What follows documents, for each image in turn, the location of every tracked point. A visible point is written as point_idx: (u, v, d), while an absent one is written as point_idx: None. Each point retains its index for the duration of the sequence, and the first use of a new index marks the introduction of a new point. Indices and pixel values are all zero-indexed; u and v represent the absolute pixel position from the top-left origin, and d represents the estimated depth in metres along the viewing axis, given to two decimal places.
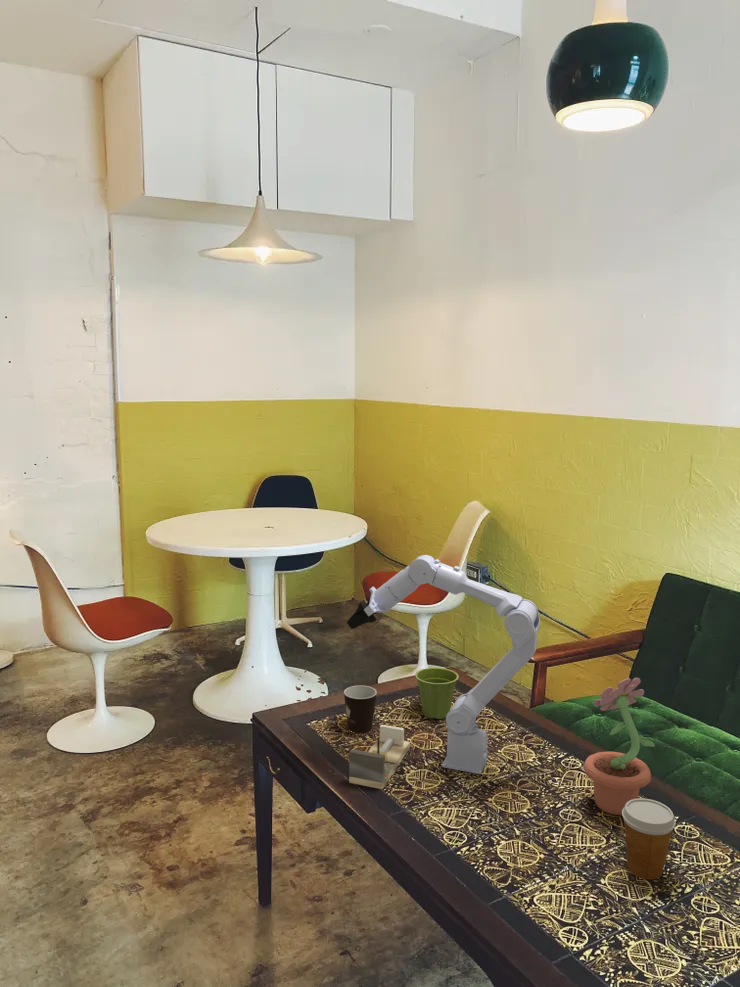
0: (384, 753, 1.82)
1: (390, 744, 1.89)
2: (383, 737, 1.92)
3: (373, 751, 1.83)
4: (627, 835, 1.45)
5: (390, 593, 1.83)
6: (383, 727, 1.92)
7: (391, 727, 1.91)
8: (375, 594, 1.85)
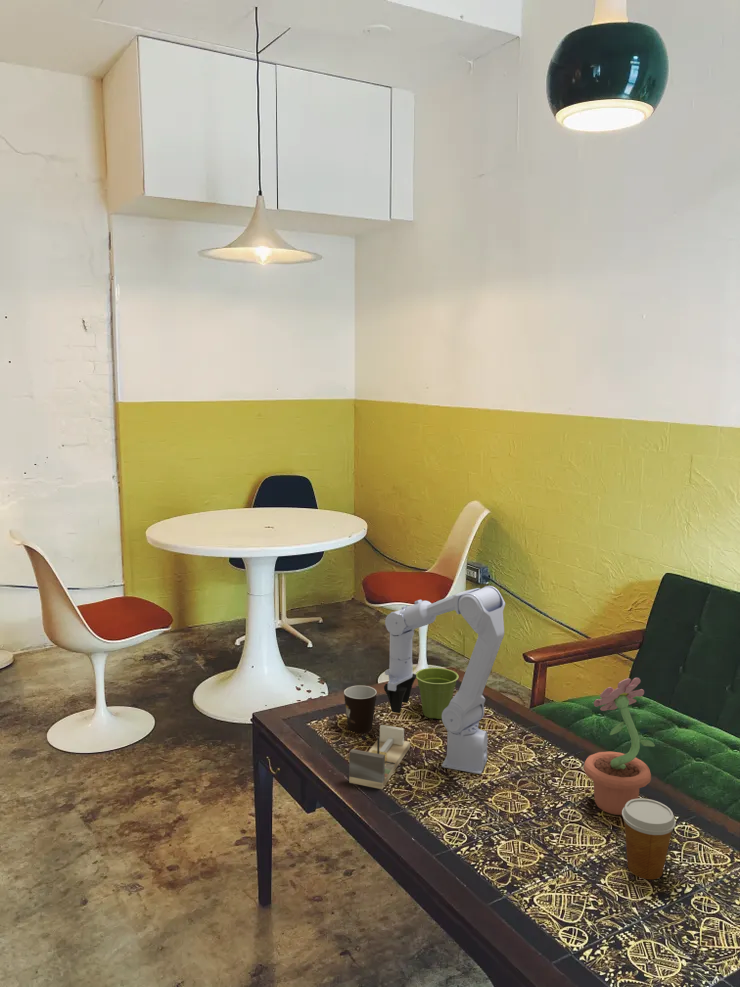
0: (384, 753, 1.82)
1: (390, 744, 1.89)
2: (383, 737, 1.92)
3: (373, 751, 1.83)
4: (627, 835, 1.45)
5: (396, 660, 1.92)
6: (383, 727, 1.92)
7: (391, 727, 1.91)
8: (390, 672, 1.95)
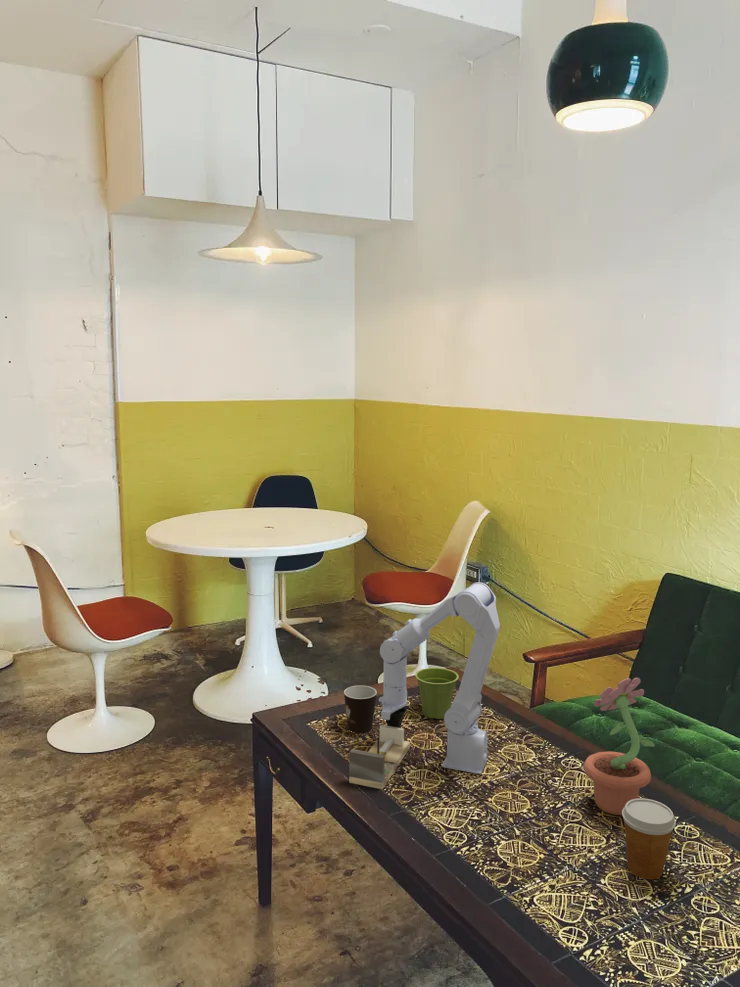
0: (384, 753, 1.82)
1: (390, 744, 1.89)
2: (383, 737, 1.92)
3: (373, 751, 1.83)
4: (627, 835, 1.45)
5: (390, 688, 1.89)
6: (383, 727, 1.92)
7: (391, 727, 1.91)
8: (384, 699, 1.91)
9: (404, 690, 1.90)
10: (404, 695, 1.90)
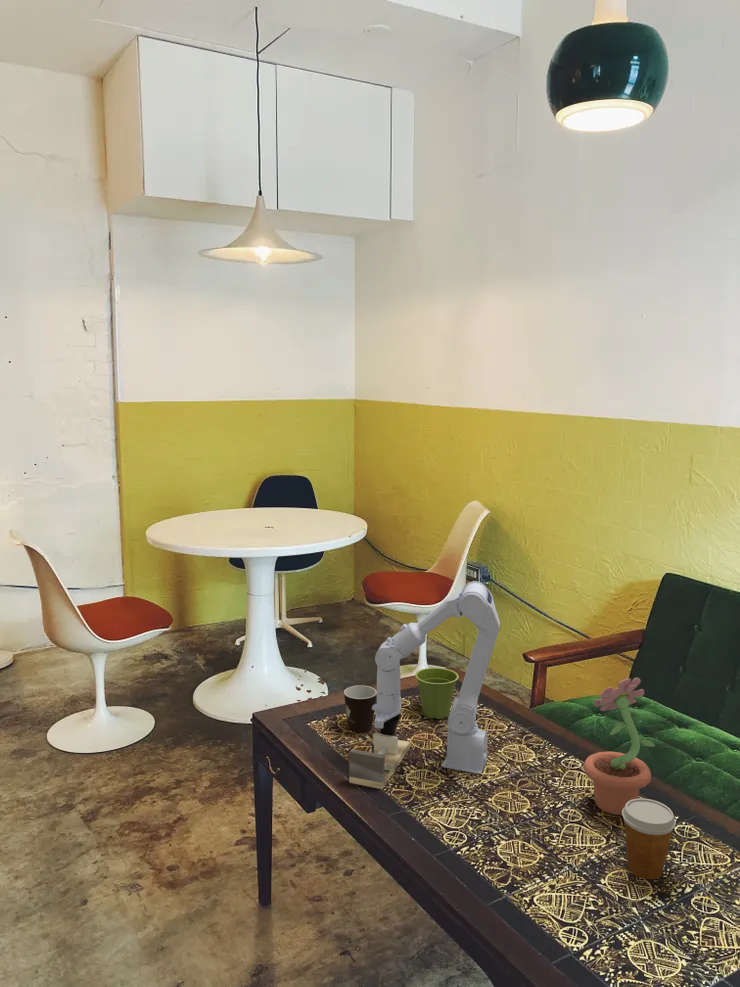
0: None
1: (384, 753, 1.85)
2: (376, 746, 1.88)
3: None
4: (627, 835, 1.45)
5: (384, 696, 1.85)
6: (376, 735, 1.87)
7: (385, 735, 1.87)
8: (377, 707, 1.87)
9: (398, 698, 1.86)
10: (398, 703, 1.86)
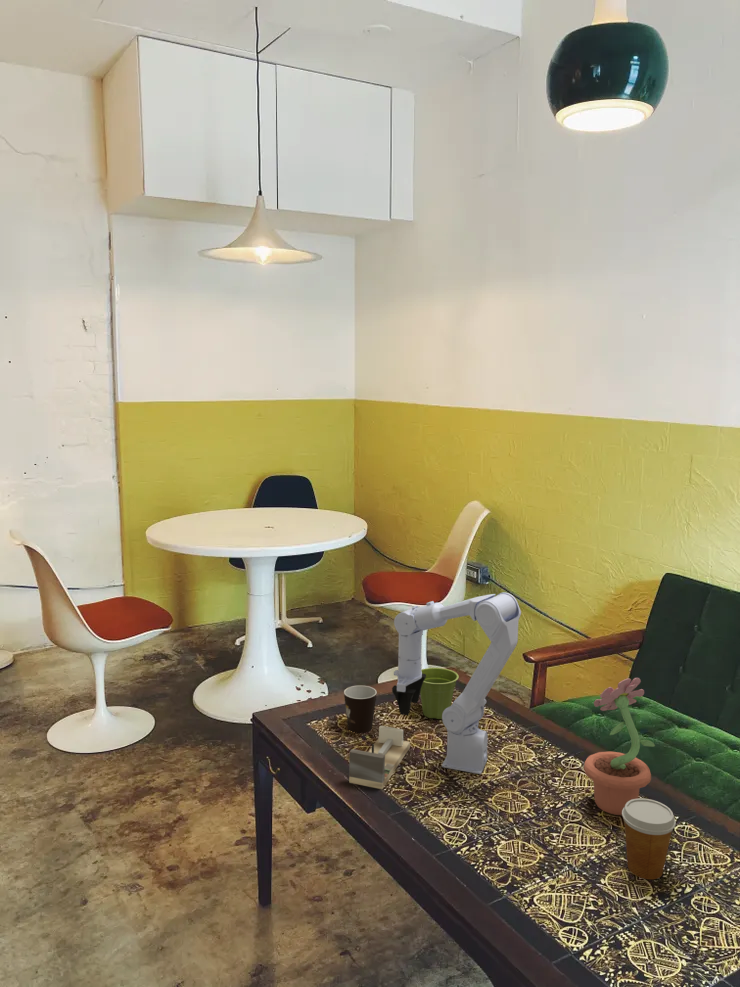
0: None
1: (389, 745, 1.89)
2: (382, 738, 1.92)
3: None
4: (627, 835, 1.45)
5: (405, 661, 1.89)
6: (382, 728, 1.91)
7: (390, 728, 1.91)
8: (399, 672, 1.92)
9: (419, 663, 1.91)
10: (419, 668, 1.91)
